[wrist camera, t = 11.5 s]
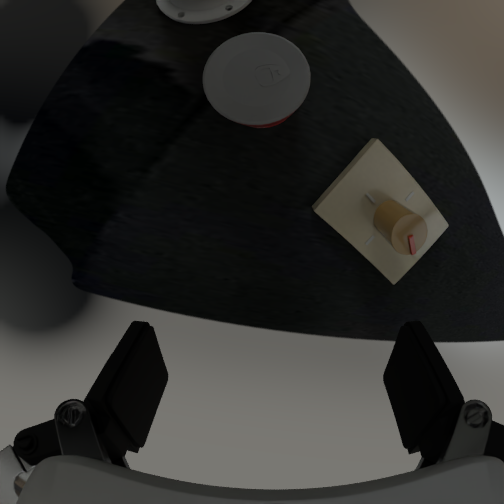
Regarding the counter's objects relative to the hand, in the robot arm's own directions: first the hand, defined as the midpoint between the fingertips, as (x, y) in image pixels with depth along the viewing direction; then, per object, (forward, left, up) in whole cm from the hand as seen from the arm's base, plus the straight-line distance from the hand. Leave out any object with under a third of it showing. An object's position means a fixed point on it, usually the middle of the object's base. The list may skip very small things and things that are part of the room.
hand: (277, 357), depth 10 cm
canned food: (-11, +5, -24) cm, 27 cm away
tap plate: (+8, +11, -24) cm, 28 cm away
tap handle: (+8, +11, -22) cm, 26 cm away
